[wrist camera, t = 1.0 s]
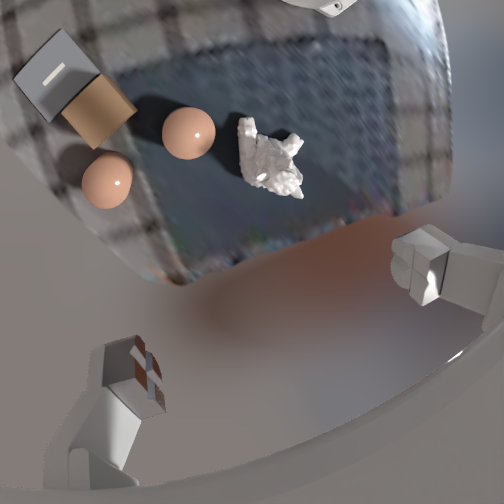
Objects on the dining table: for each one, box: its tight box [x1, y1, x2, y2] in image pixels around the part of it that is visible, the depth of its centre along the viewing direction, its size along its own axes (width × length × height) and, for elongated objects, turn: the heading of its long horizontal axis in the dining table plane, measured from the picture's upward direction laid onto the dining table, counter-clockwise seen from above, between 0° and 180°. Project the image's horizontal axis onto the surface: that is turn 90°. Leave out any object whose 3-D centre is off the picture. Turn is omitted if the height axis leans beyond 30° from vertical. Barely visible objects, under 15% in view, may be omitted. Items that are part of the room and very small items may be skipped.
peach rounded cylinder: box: [82, 152, 134, 209], centre depth 33 cm, size 6×6×5 cm
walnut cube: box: [62, 74, 138, 150], centre depth 29 cm, size 6×6×6 cm
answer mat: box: [13, 29, 100, 122], centre depth 26 cm, size 9×9×1 cm
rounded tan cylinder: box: [162, 107, 215, 159], centre depth 34 cm, size 6×6×5 cm
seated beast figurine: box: [237, 117, 304, 199], centre depth 35 cm, size 10×9×12 cm
